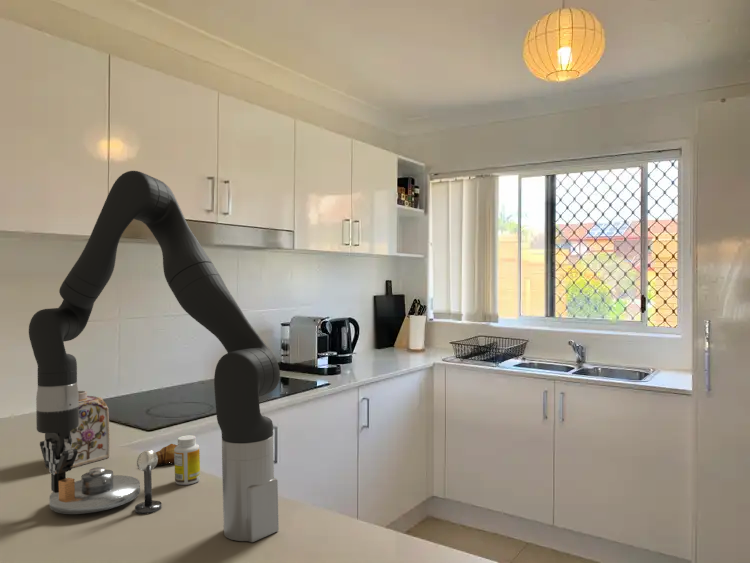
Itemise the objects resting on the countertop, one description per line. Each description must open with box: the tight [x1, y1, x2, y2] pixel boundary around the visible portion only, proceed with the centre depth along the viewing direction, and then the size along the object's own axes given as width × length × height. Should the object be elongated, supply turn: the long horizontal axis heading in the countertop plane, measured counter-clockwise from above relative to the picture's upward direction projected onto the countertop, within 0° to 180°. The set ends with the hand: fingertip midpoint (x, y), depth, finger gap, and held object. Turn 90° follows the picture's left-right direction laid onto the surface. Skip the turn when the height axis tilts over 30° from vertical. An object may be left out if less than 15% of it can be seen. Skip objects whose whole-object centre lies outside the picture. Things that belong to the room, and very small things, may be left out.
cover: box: [80, 466, 114, 495], centre depth 119 cm, size 6×6×4 cm
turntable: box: [49, 474, 141, 515], centre depth 119 cm, size 17×17×6 cm
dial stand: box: [134, 449, 163, 515], centre depth 115 cm, size 5×5×12 cm
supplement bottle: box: [174, 434, 201, 486], centre depth 131 cm, size 6×6×10 cm
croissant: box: [155, 443, 178, 467], centre depth 146 cm, size 14×7×5 cm, turn 122°
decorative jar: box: [70, 390, 111, 468], centre depth 150 cm, size 12×12×18 cm
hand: (58, 490), depth 116 cm, fingers closed
